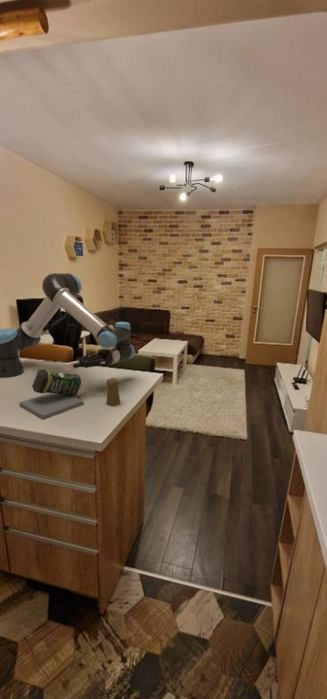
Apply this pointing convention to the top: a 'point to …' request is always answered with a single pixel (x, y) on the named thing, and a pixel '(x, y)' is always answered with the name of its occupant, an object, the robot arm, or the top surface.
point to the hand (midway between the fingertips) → (65, 367)
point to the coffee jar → (56, 383)
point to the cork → (113, 392)
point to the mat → (50, 404)
